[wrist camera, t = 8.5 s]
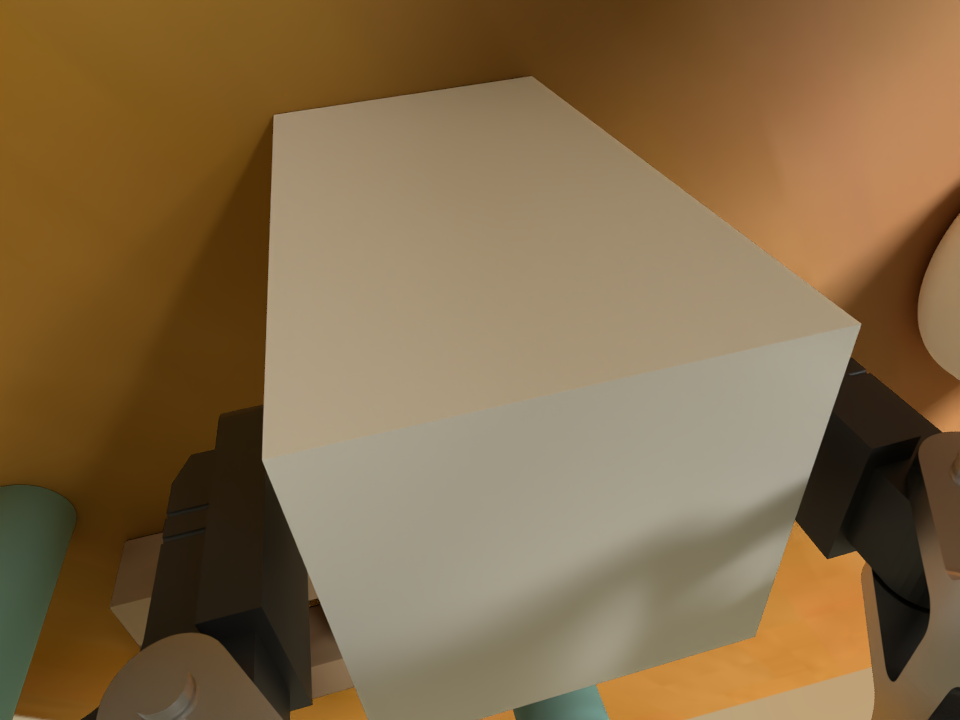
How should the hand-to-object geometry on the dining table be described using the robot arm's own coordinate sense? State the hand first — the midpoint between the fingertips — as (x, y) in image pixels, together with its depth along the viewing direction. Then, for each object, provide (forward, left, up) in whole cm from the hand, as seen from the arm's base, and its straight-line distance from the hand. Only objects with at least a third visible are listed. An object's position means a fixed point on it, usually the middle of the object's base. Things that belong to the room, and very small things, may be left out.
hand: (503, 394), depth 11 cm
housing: (0, 0, -7) cm, 7 cm away
